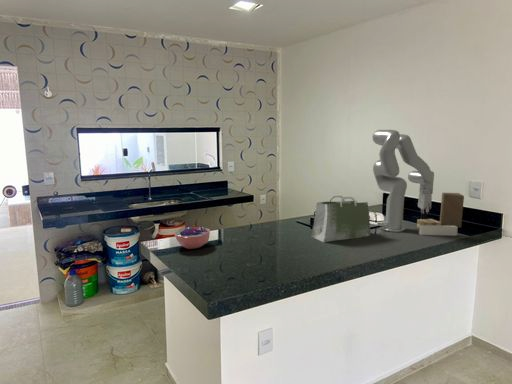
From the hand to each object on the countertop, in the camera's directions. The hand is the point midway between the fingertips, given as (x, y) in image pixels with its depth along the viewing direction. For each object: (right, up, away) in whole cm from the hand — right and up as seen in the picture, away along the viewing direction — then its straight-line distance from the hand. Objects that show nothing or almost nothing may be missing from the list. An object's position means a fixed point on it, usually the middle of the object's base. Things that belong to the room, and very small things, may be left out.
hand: (423, 219), depth 238 cm
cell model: (-137, -11, -44) cm, 145 cm away
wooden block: (+16, -4, -1) cm, 17 cm away
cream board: (-1, -7, -21) cm, 22 cm away
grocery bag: (-58, -8, -24) cm, 63 cm away
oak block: (0, -5, -8) cm, 9 cm away
